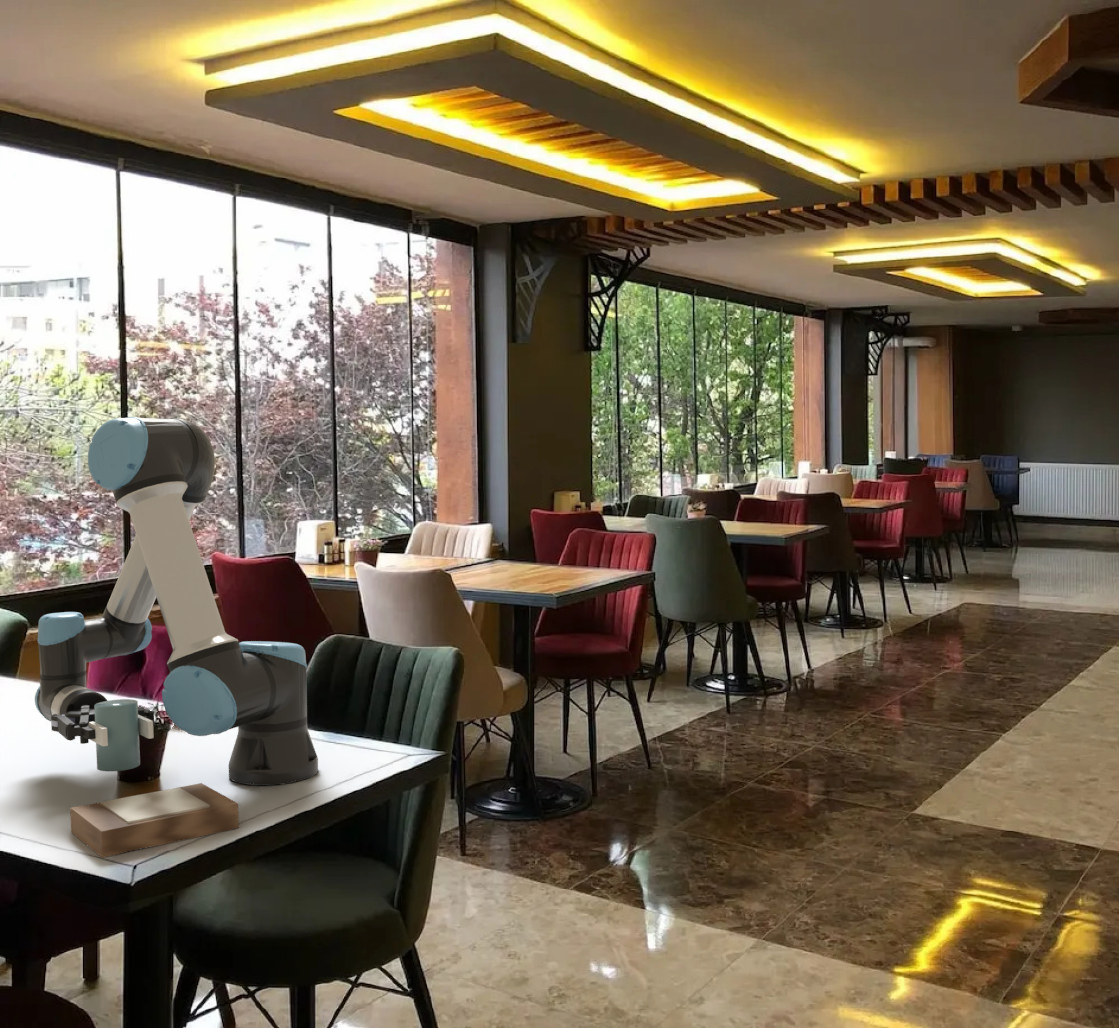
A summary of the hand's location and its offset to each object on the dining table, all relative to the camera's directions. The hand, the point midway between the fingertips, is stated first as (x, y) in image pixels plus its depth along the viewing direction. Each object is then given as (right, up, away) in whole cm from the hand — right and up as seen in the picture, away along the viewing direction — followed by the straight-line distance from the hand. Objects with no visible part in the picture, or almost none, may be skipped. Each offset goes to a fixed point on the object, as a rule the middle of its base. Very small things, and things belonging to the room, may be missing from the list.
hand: (128, 733), depth 183 cm
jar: (-3, -6, +4) cm, 8 cm away
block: (+7, -13, -7) cm, 16 cm away
